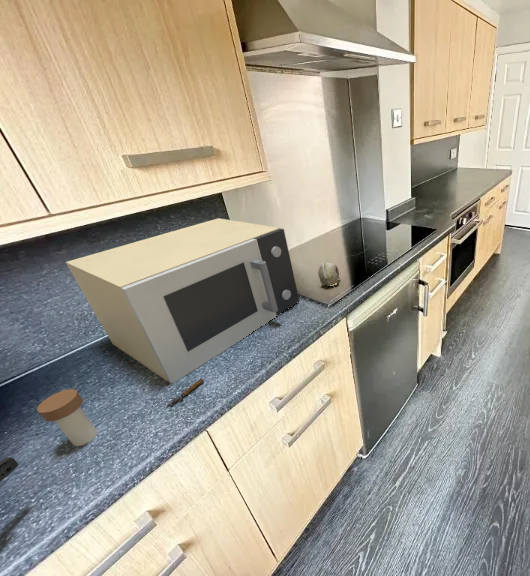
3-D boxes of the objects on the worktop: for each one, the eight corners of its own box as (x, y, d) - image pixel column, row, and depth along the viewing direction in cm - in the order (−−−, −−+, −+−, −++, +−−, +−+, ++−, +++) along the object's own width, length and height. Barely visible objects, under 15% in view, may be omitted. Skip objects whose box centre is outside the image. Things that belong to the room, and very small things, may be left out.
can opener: (201, 380, 79) (200, 377, 78) (207, 384, 78) (205, 380, 77) (164, 406, 72) (162, 403, 71) (169, 410, 71) (167, 406, 70)
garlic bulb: (328, 295, 120) (319, 276, 113) (317, 284, 125) (308, 266, 118) (348, 281, 123) (340, 262, 116) (336, 271, 128) (328, 253, 121)
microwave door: (287, 321, 101) (268, 241, 88) (182, 391, 76) (135, 294, 63) (273, 316, 104) (253, 238, 91) (168, 381, 79) (120, 287, 67)
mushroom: (60, 453, 63) (28, 415, 58) (79, 428, 68) (51, 392, 63) (92, 447, 64) (63, 409, 59) (109, 423, 69) (83, 386, 64)
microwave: (301, 303, 110) (285, 228, 98) (173, 385, 78) (125, 289, 66) (238, 283, 128) (218, 218, 115) (112, 344, 96) (65, 262, 83)
